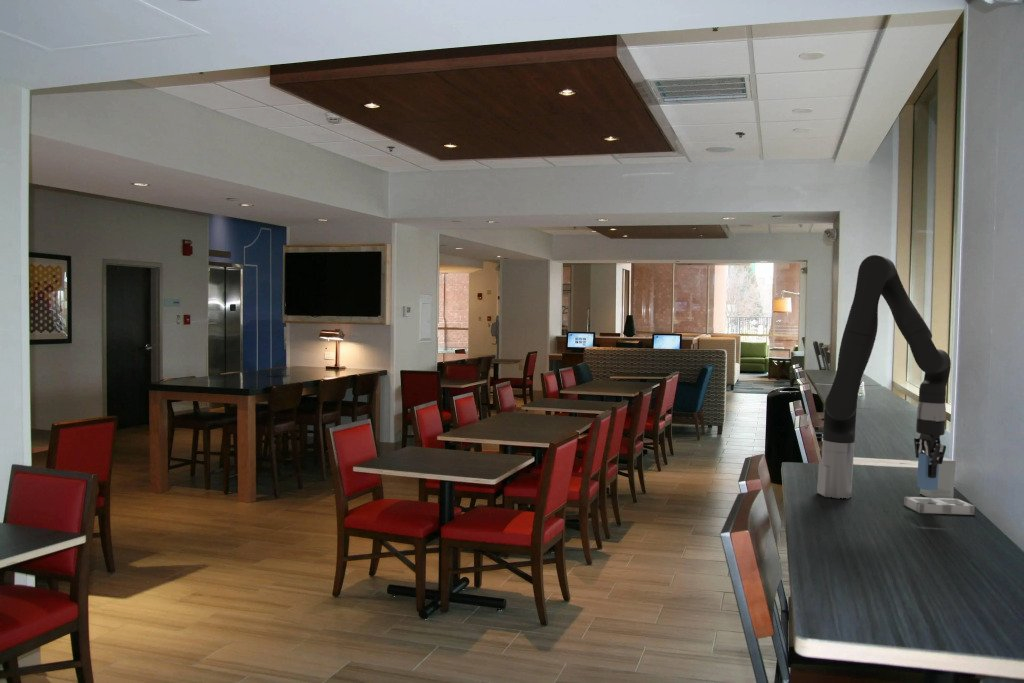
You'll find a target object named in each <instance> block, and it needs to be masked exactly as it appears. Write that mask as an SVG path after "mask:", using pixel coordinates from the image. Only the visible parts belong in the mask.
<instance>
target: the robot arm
mask: <svg viewBox="0 0 1024 683" xmlns="http://www.w3.org/2000/svg"><path fill="white" fill-rule="evenodd" d="M906 291H907V290H906V289H905V287H904V285H903V283H902V281H901V278H900V276H899V272H898V271H897V268H896V265H895V263H894V262H893V261H892V260H890V259H889V258H888V257H885V256H883V255H879V254H872V255H869V256H867V257H865V258H864V259H863V260H862V261H861V263H860V265H859V267H858V271H857V278H856V284H855V291H854V295H853V299H852V304H851V306H850V310H849V313H848V317H847V321H846V323H845V327H844V329H843V334H842V336H841V341H840V346H839V351H838V359H837V368H836V373H835V376H834V379H833V382H832V385H831V387H830V390H829V392H828V394H827V395H826V398H825V402H824V412H823V413H824V414H823V415H824V416H823V429H822V430H823V431H822V446H821V462H818V468H817V469H818V473H817V486H816V489H817V490H816V493H817V494H819V495H821V496H822V497H824V498H831V497H832V499H833V498H834V499H840V498H842V499H843V498H846V499H850V497H851V498H852V490H853V471H854V454H855V439H856V425H857V424H856V422H857V409H858V398H859V390H860V385H861V381H862V378H863V375H864V372H865V370H866V368H867V365H868V363H869V362H870V358H871V355H872V352H873V348H874V346H875V341H876V337H877V334H878V327H879V315H878V314H879V303H880V297H881V296H882V297H883V298H884V301H885V302H886V304H887V305H888V308H889V310H890V312H891V314H892V317H893V320H894V322H895V324H896V326H897V328H898V330H899V332H900V333H901V335H902V336H903V338H904V340H905V341H906V342H907V344H908V347H909V349H910V351H911V354H912V357H913V359H914V361H915V363H916V365H917V366H918V367H919V369H920V370H921V371H922V372H923V373H924V376H923V378H924V379H923V381H922V382H921V383H920V385H919V388H918V389H919V390H918V392H919V393H918V403H917V409H916V424H915V432H916V433H917V434H919V437H914V438H913V445H914V452H915V458H916V459H918V458H919V453H924V451H926V455H927V457H928V464H929V465H928V477H929V478H936V472H937V465H938V464H942V462H943V458H944V457H945V453H946V451H947V450H946V449H947V446H946V445H944V444H943V445H942V443H941V438H940V437H941V436H944V435H945V434H946V419H947V418H946V417H947V416H946V414H947V412H946V410H947V409H946V400H947V399H946V398H947V395H946V394H947V386H948V381H949V378H950V374H951V368H952V367H951V366H952V361H951V356H949V354H948V353H947V352H946V351H945V350H942V349H938V348H937V347H936V346H935V343H934V342H933V340H932V338H933V333H932V332H931V330H930V328H929V327H928V325H927V324H926V322H925V320H924V318H923V317H922V315H921V314H920V313H919V311H918V309H917V308H916V306H915V305H914V303H913V302H912V300H911V299H910V297H909V295H908V294H907V292H906ZM930 453H934V454H930ZM932 457H933V458H932ZM938 457H939V460H938ZM842 499H841V500H842Z"/></svg>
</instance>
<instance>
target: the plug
mask: <svg viewBox="0 0 1024 683" xmlns="http://www.w3.org/2000/svg"><path fill="white" fill-rule="evenodd" d="M930 454H934V453H930ZM932 458H933V457H932ZM917 459H918V460H917V461H918V462H917V480H916V488H919V489H920V488H921V489H923V490H937V489H938V471H939V464H938V465H937V472H936V478H929V477H928V465H929V464H928V457H927V455H926V451H924V453H919V458H917ZM938 460H939V457H938Z"/></svg>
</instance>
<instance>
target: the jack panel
mask: <svg viewBox="0 0 1024 683" xmlns="http://www.w3.org/2000/svg"><path fill="white" fill-rule="evenodd" d="M903 500H904V501H903V505H904V506H905V507H906V508H909V509H911V510H913V511H915V512H917V513H919V514H941V515H943V514H945V515H967V516H968V515H971V516H974V515H975V505H973V504H971V503H969V502H966V501H964V500H961V499H959V498H954V497H953V498H928V497H926V496H924V497H923V496H904V498H903Z"/></svg>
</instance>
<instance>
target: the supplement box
mask: <svg viewBox="0 0 1024 683" xmlns="http://www.w3.org/2000/svg"><path fill="white" fill-rule="evenodd" d="M956 463H957V462H956V460H953V459H951V458H948V457H945V456H944V458H943V462H942V464H939V471H938V489H937V490H923V489H921V488H919V495H920V494H922V495H921V496H924V497H927V498H954V494H955V492H954V489H955V477H956V476H955V475H956Z"/></svg>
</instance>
